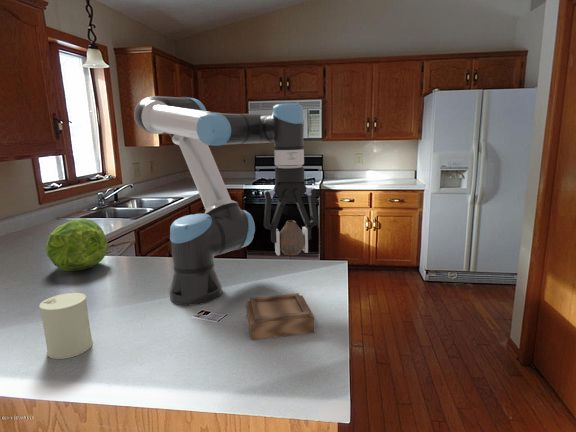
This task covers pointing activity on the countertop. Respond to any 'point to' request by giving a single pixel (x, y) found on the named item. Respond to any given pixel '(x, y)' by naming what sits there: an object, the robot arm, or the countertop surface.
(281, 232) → the vase
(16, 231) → the countertop surface
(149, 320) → the countertop surface
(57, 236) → the lettuce
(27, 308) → the countertop surface
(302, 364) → the countertop surface
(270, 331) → the brown wooden flat box
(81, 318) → the can
